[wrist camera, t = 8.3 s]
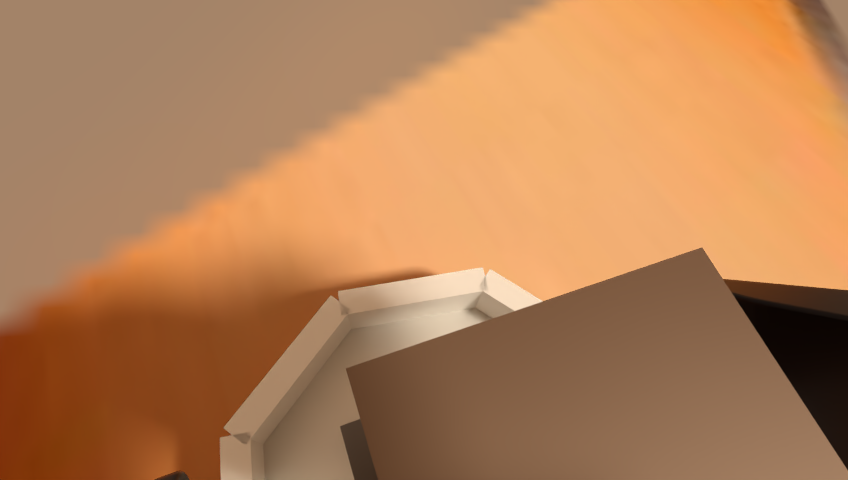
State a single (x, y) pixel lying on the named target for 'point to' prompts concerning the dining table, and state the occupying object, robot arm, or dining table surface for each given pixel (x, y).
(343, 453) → the saucer
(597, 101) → the dining table surface
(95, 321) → the dining table surface
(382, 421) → the brown tall rectangular block
